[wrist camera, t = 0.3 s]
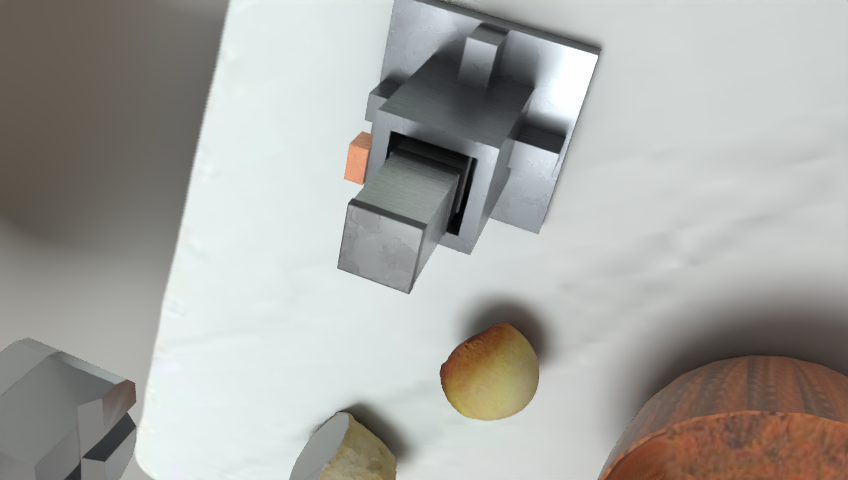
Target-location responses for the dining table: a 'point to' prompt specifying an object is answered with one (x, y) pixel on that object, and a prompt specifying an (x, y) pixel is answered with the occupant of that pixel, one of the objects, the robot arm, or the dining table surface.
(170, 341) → the dining table surface
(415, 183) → the column
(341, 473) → the yellow rounded chunk
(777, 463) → the bowl
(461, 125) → the stand
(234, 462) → the dining table surface
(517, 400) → the fruit
